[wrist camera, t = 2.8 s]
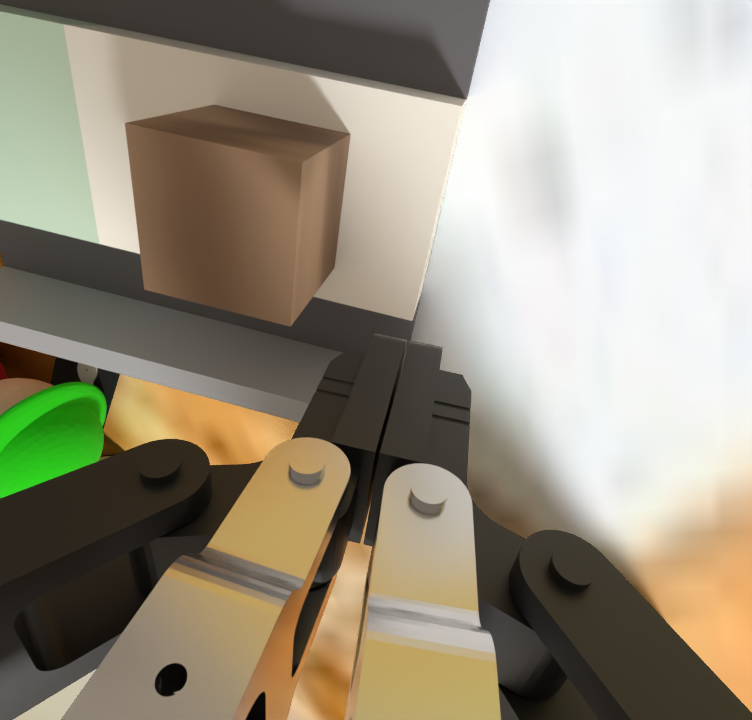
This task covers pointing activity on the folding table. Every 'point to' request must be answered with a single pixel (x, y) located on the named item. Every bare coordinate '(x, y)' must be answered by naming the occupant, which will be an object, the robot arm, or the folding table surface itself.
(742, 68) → the folding table surface
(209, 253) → the walnut block
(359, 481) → the robot arm
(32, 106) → the trap track
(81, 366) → the toy figure
